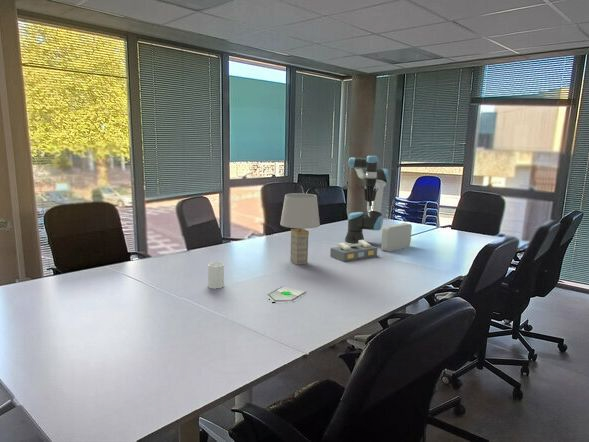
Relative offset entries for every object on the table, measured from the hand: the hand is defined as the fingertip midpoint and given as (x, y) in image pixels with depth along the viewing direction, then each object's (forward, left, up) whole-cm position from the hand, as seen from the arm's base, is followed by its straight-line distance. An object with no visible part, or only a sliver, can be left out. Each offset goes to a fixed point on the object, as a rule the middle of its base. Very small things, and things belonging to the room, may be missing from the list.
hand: (369, 210), depth 297 cm
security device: (+51, -102, -30) cm, 118 cm away
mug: (+20, -124, -30) cm, 129 cm away
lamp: (+4, -62, -30) cm, 69 cm away
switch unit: (+9, -20, -29) cm, 37 cm away
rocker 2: (+9, -20, -21) cm, 31 cm away
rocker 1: (+9, -29, -21) cm, 37 cm away
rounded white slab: (+7, +23, -30) cm, 38 cm away
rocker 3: (+9, -11, -21) cm, 26 cm away
